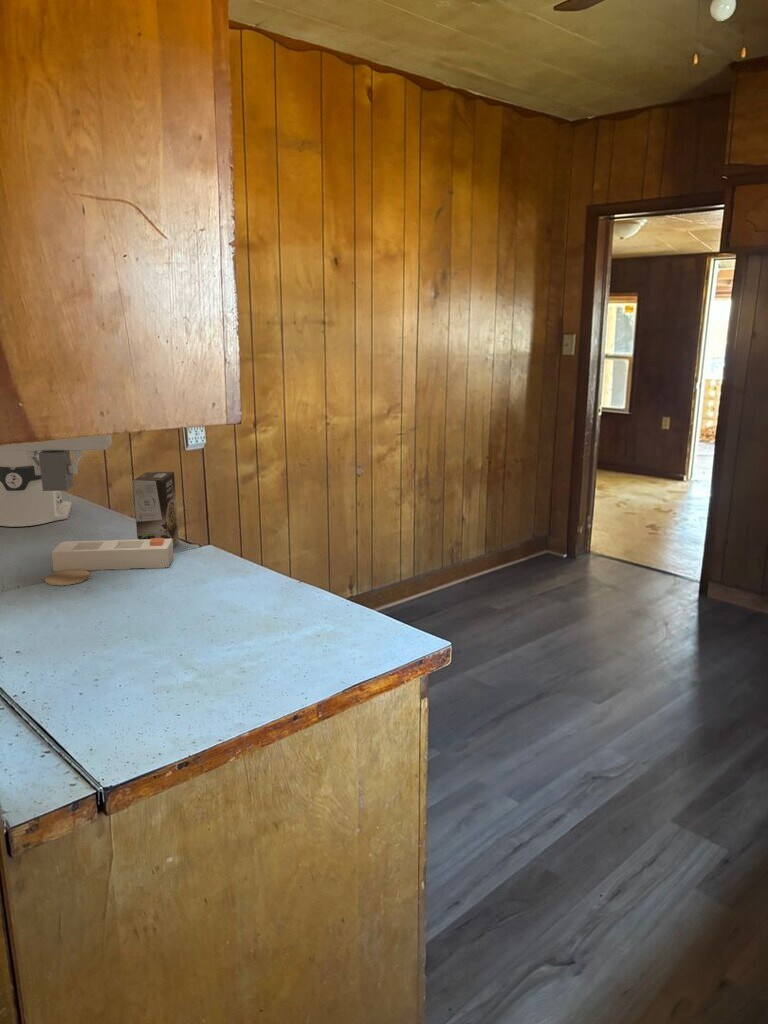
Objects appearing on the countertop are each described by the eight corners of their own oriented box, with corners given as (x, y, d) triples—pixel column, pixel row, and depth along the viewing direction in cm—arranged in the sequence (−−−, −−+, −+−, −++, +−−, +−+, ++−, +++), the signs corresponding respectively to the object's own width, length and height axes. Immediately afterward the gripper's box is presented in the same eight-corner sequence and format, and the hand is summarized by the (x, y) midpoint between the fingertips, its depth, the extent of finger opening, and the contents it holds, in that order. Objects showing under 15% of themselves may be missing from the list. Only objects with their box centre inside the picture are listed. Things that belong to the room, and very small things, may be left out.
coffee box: (167, 555, 158) (162, 480, 154) (137, 554, 158) (131, 479, 154) (180, 542, 167) (175, 471, 163) (151, 542, 167) (145, 470, 163)
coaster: (52, 572, 147) (52, 570, 147) (95, 570, 148) (94, 569, 148) (39, 586, 139) (39, 584, 139) (84, 585, 140) (84, 582, 140)
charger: (50, 486, 141) (45, 448, 139) (73, 485, 141) (69, 448, 139) (42, 491, 137) (38, 452, 135) (66, 490, 137) (62, 452, 135)
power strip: (53, 571, 147) (50, 548, 146) (64, 560, 154) (61, 537, 153) (168, 567, 150) (166, 544, 149) (173, 556, 157) (172, 534, 155)
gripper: (112, 396, 139) (119, 469, 142) (-4, 397, 137) (5, 472, 140) (104, 400, 133) (111, 476, 136) (-18, 401, 131) (-8, 479, 134)
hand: (56, 474), depth 138 cm, fingers closed on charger, 4 cm apart
